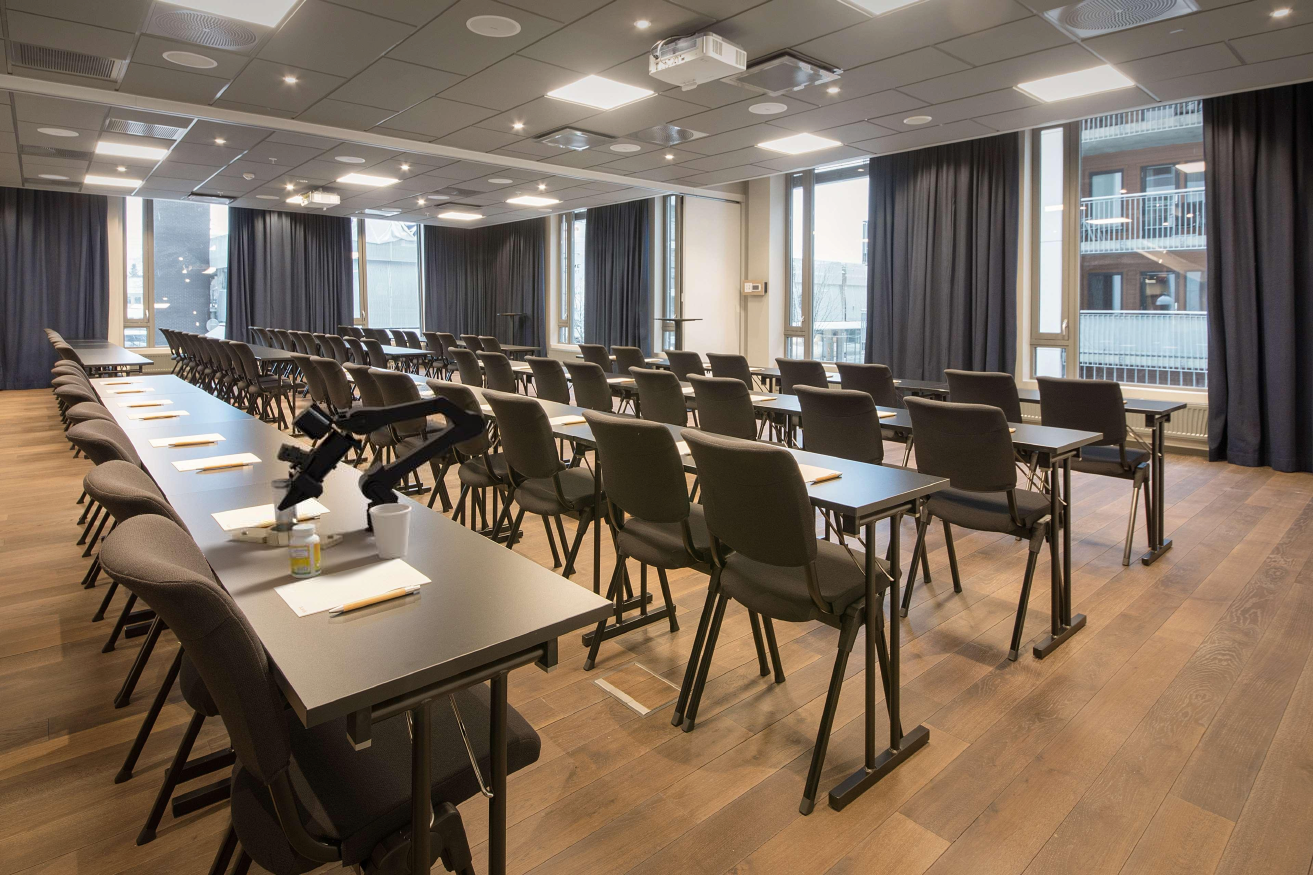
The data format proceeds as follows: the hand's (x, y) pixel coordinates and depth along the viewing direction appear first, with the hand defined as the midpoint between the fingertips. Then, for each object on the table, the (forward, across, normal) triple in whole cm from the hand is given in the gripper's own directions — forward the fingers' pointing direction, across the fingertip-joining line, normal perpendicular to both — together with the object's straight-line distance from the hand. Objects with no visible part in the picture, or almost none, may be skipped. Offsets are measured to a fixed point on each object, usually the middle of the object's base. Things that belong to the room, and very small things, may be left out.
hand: (278, 507), depth 169 cm
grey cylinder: (+4, 0, +6) cm, 7 cm away
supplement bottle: (+3, +25, +8) cm, 27 cm away
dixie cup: (-9, +20, +20) cm, 30 cm away
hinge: (+5, 0, +6) cm, 8 cm away
